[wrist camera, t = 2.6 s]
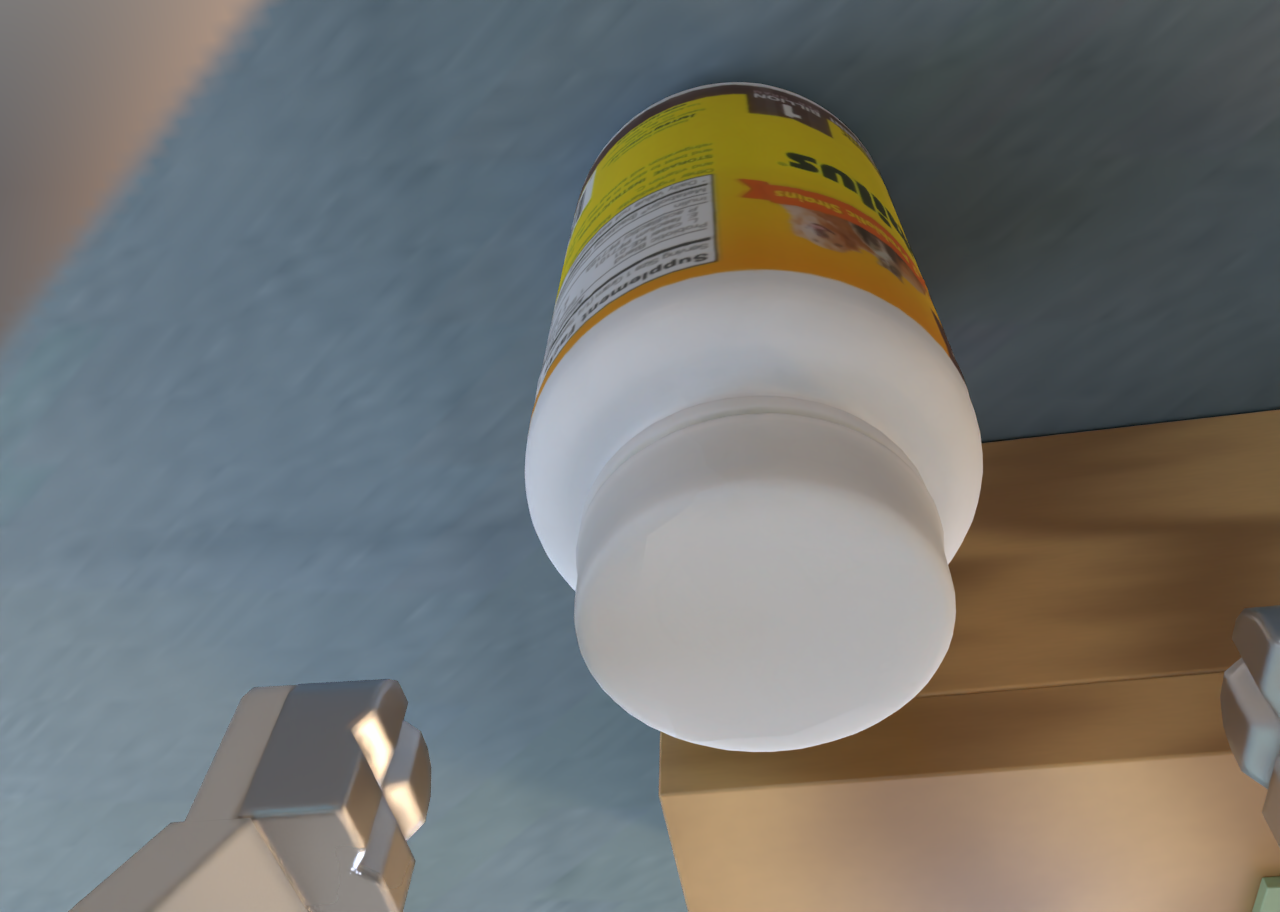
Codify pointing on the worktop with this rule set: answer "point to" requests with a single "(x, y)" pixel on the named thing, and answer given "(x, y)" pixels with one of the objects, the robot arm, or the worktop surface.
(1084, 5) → the worktop surface
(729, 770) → the oak shelf
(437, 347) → the worktop surface
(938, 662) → the supplement bottle
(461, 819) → the worktop surface
